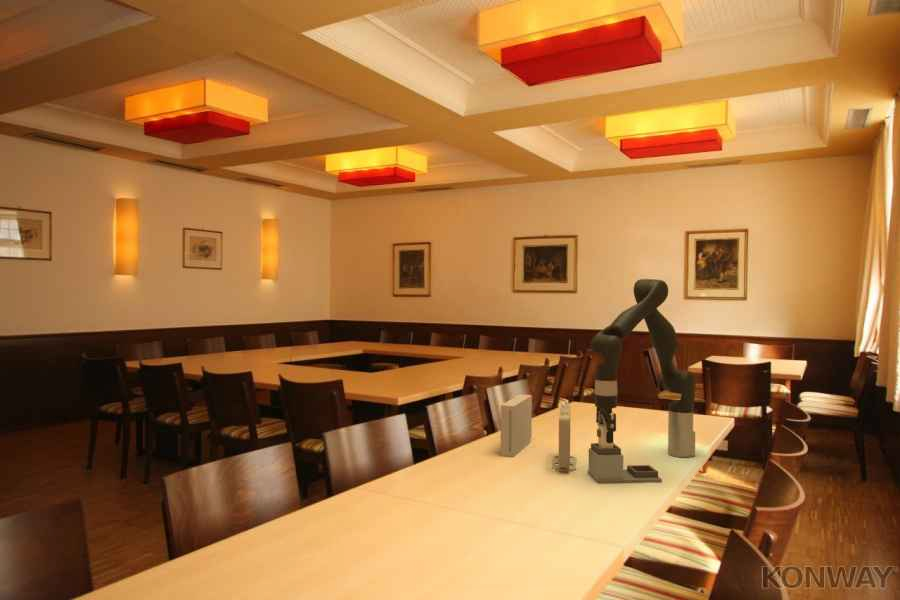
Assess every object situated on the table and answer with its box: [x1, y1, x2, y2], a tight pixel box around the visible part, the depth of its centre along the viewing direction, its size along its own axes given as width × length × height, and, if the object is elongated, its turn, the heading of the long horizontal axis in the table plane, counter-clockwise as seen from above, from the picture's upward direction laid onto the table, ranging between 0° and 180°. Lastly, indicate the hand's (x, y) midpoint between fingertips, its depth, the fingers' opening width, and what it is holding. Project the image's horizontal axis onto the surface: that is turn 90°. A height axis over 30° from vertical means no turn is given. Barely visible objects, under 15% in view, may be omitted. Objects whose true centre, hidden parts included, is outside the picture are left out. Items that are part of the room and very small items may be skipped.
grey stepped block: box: [587, 442, 663, 484], centre depth 215 cm, size 22×12×11 cm, turn 94°
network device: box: [550, 404, 577, 472], centre depth 232 cm, size 26×9×20 cm, turn 168°
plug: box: [596, 424, 614, 448], centre depth 214 cm, size 5×4×9 cm
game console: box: [500, 393, 533, 458], centre depth 254 cm, size 6×27×20 cm, turn 158°
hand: (605, 439), depth 215 cm, fingers open, 8 cm apart
